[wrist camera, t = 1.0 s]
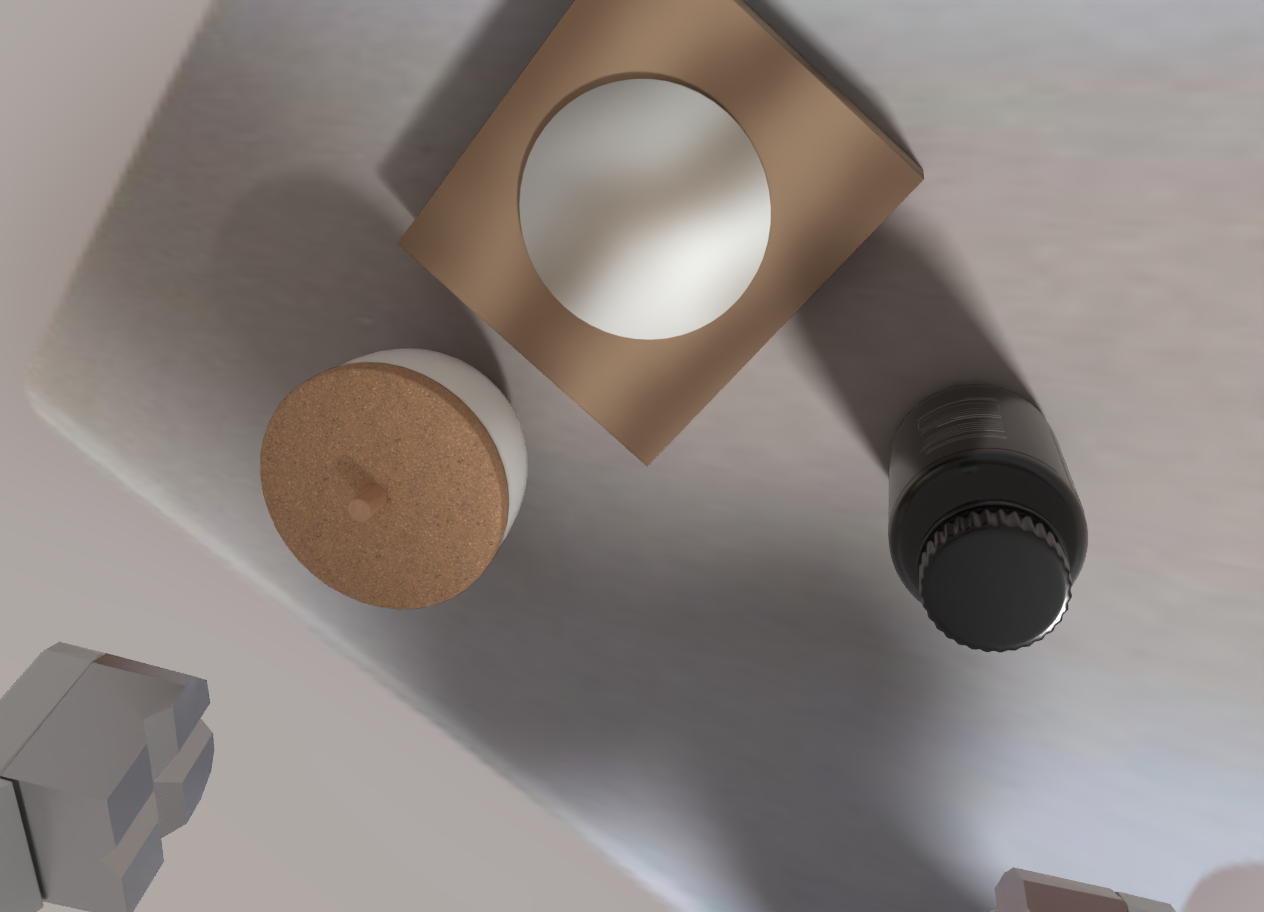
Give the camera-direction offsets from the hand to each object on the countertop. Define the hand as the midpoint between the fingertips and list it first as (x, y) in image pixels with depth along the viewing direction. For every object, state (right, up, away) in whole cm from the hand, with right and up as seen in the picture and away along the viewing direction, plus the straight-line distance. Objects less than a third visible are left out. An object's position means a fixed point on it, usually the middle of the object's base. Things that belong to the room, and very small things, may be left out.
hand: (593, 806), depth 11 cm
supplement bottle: (+15, +4, +36) cm, 39 cm away
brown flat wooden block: (+2, +14, +35) cm, 37 cm away
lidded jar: (-8, +5, +41) cm, 42 cm away
